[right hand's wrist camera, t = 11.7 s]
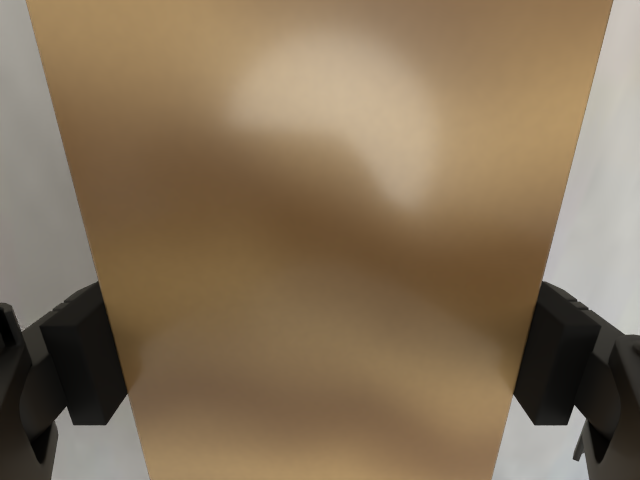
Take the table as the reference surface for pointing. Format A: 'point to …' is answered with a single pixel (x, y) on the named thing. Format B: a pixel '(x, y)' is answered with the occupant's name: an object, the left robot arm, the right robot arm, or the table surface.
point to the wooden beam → (320, 218)
